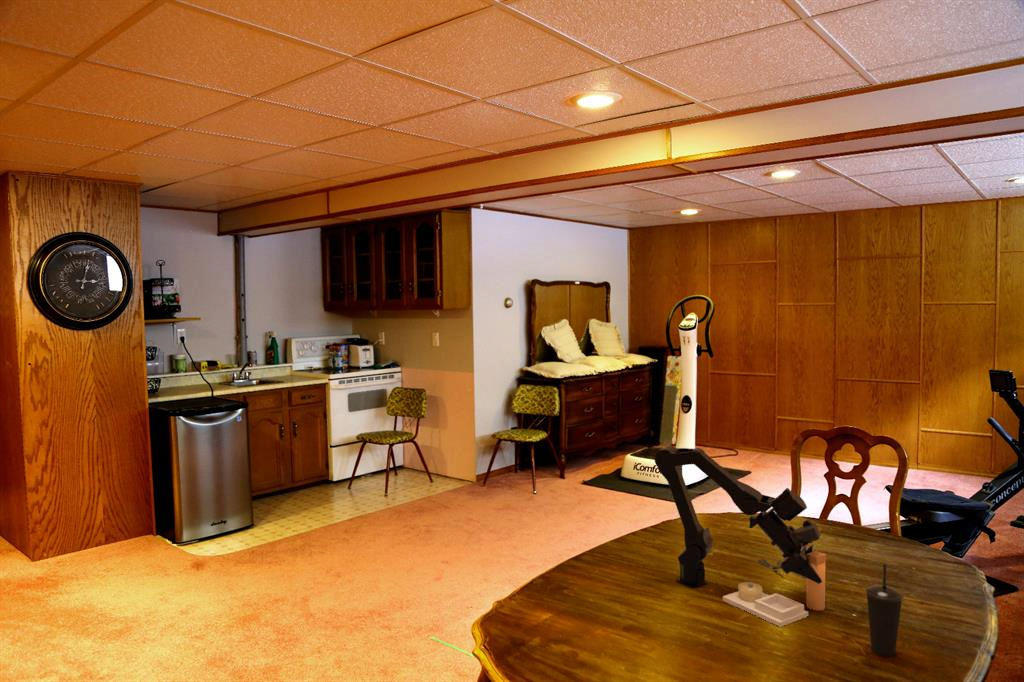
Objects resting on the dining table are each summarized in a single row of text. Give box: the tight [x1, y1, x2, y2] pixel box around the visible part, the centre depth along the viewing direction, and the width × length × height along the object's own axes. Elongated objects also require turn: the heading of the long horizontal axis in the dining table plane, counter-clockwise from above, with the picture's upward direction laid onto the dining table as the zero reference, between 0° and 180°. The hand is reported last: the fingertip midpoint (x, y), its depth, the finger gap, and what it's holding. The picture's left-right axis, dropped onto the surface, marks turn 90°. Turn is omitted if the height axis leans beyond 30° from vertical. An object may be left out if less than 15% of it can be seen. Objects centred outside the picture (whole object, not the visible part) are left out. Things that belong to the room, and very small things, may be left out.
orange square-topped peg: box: [805, 550, 827, 611], centre depth 182 cm, size 4×4×14 cm
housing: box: [722, 581, 809, 628], centre depth 181 cm, size 18×11×5 cm, turn 32°
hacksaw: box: [758, 558, 835, 587], centre depth 204 cm, size 24×10×2 cm, turn 14°
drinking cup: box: [865, 564, 904, 657], centre depth 159 cm, size 8×8×20 cm
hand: (821, 579), depth 181 cm, fingers closed on orange square-topped peg, 4 cm apart
